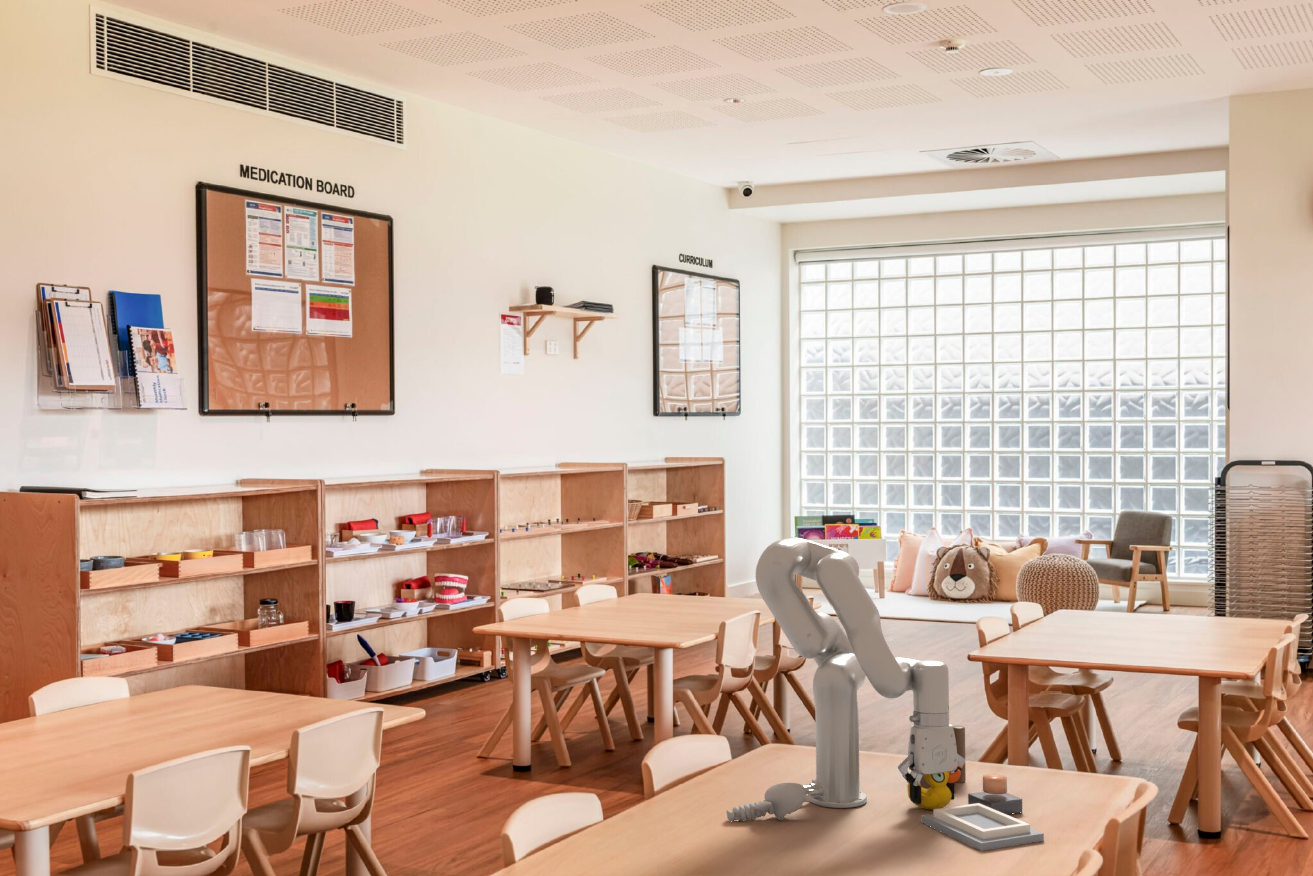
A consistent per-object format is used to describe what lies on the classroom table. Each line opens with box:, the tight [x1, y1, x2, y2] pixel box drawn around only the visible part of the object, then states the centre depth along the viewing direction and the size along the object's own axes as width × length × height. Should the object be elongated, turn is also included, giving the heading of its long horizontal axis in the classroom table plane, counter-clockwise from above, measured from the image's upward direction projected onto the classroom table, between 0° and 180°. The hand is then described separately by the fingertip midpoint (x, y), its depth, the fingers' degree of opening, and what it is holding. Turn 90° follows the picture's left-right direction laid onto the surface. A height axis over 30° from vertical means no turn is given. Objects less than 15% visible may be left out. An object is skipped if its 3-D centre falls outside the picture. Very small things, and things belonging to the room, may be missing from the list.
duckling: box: [907, 769, 961, 811], centre depth 267 cm, size 11×5×10 cm, turn 71°
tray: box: [920, 803, 1045, 852], centre depth 251 cm, size 15×20×3 cm
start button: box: [982, 773, 1008, 794], centre depth 266 cm, size 5×5×3 cm
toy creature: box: [726, 782, 819, 823], centre depth 261 cm, size 13×7×20 cm
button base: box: [967, 791, 1023, 815], centre depth 266 cm, size 8×8×3 cm
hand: (932, 800), depth 267 cm, fingers closed on duckling, 7 cm apart
